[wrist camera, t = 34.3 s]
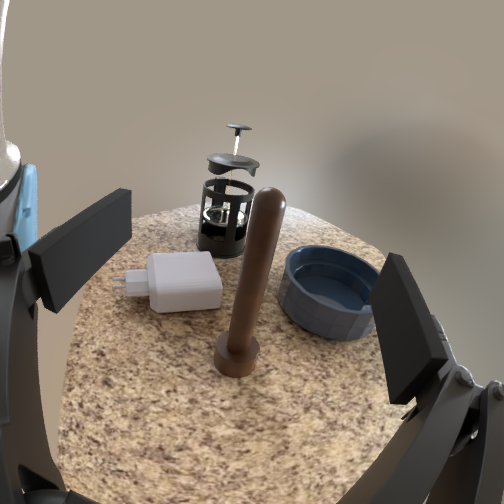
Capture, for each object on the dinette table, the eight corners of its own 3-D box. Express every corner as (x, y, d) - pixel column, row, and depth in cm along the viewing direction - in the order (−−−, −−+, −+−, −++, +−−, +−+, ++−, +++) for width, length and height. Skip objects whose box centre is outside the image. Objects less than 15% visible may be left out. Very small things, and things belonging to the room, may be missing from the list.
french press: (252, 259, 53) (279, 134, 41) (202, 262, 49) (220, 126, 38) (233, 229, 62) (252, 123, 50) (190, 230, 58) (203, 117, 47)
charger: (115, 277, 41) (205, 272, 47) (113, 318, 34) (220, 311, 40) (112, 251, 39) (208, 248, 45) (108, 291, 32) (223, 285, 37)
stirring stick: (205, 365, 31) (229, 186, 21) (225, 339, 35) (256, 174, 25) (244, 384, 30) (294, 207, 19) (261, 356, 34) (310, 191, 23)
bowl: (258, 314, 41) (267, 282, 38) (294, 262, 55) (302, 234, 52) (370, 359, 36) (389, 330, 33) (377, 294, 50) (390, 268, 47)
